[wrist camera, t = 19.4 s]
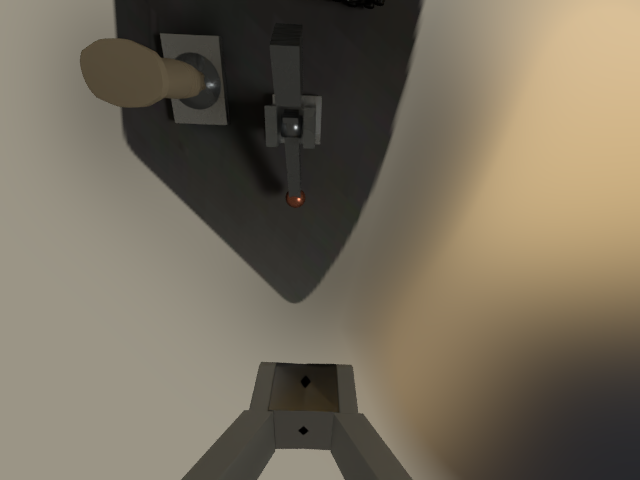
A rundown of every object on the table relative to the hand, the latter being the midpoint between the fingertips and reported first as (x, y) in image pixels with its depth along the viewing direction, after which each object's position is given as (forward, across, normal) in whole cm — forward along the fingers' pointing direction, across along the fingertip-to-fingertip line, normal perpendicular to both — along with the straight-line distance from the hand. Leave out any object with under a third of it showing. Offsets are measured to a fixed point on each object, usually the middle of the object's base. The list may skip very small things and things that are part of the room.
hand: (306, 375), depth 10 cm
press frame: (+37, +10, -8) cm, 39 cm away
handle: (+36, +16, -9) cm, 40 cm away
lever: (+31, +3, -4) cm, 31 cm away
